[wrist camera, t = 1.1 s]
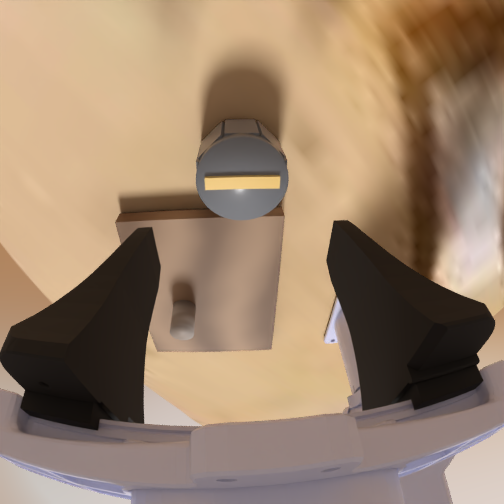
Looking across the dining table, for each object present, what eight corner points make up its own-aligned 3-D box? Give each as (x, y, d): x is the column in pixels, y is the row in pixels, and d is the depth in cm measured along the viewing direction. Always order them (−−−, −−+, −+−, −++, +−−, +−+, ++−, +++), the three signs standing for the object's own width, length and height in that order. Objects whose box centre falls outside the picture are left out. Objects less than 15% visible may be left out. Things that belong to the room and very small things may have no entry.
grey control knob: (279, 119, 18) (292, 139, 15) (276, 188, 21) (285, 221, 18) (199, 120, 18) (192, 140, 14) (203, 190, 21) (199, 224, 18)
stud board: (282, 207, 22) (291, 240, 19) (270, 340, 32) (274, 372, 29) (119, 213, 21) (103, 246, 18) (158, 342, 31) (154, 373, 28)
